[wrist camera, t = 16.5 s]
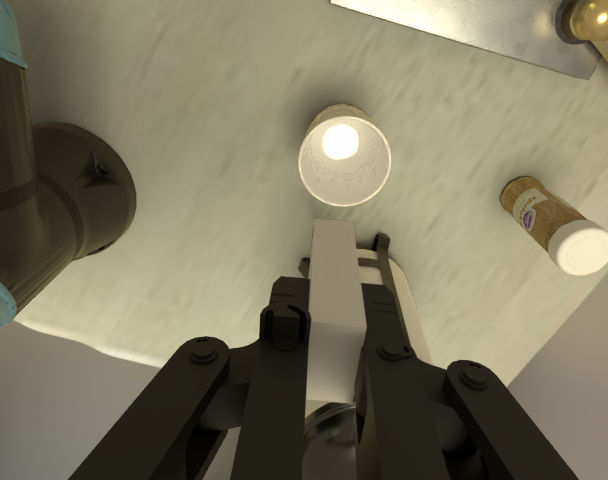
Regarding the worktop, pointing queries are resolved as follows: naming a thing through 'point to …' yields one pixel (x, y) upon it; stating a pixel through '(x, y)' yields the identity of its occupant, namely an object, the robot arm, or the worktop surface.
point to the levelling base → (494, 28)
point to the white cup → (344, 157)
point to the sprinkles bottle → (557, 227)
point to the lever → (587, 22)
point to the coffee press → (339, 416)
